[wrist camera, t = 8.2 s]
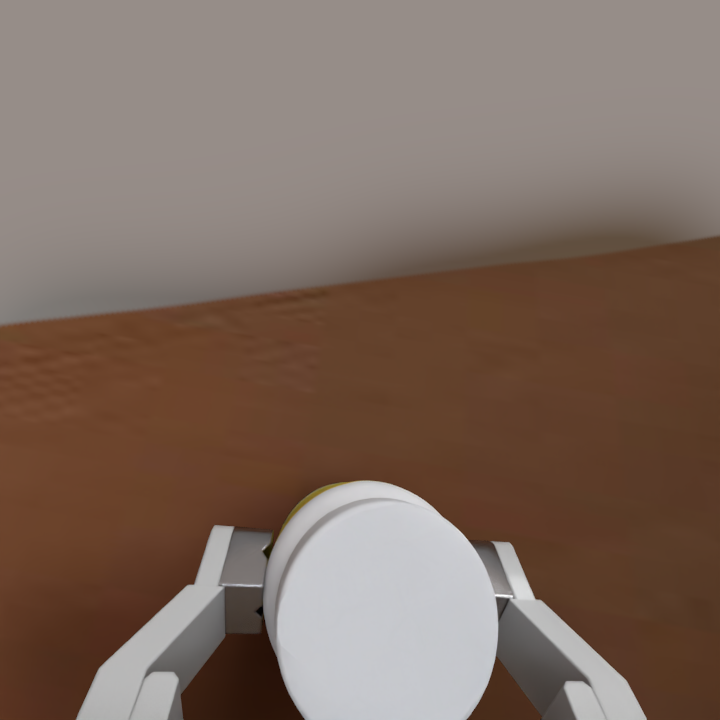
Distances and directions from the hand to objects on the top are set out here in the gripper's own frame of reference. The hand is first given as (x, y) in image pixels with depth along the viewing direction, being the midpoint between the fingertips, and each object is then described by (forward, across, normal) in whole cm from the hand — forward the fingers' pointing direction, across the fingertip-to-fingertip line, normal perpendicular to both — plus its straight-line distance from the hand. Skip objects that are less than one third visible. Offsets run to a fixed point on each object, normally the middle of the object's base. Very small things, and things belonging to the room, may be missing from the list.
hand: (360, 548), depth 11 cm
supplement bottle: (+3, 0, +4) cm, 5 cm away
